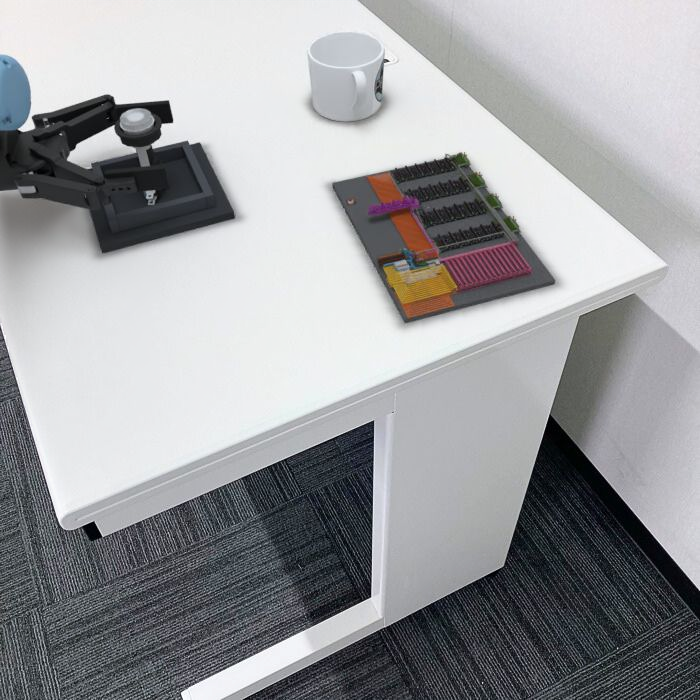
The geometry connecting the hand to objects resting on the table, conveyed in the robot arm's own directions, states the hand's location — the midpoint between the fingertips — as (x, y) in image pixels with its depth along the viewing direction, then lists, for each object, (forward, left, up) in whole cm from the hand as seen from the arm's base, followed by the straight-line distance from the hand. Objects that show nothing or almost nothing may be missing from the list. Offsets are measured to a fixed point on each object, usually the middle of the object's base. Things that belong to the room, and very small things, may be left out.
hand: (169, 142), depth 87 cm
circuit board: (+26, -19, -8) cm, 33 cm away
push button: (-3, +1, -7) cm, 7 cm away
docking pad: (-3, +1, -7) cm, 8 cm away
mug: (+27, +10, -8) cm, 30 cm away
